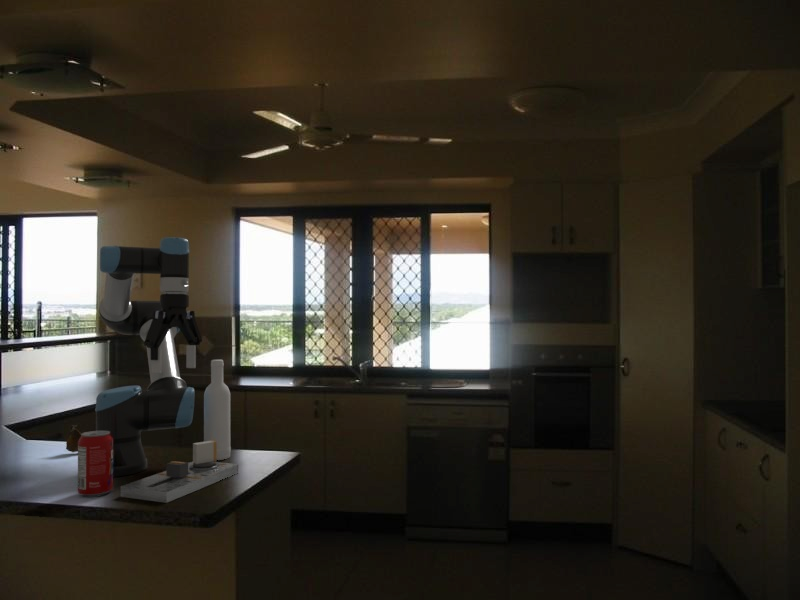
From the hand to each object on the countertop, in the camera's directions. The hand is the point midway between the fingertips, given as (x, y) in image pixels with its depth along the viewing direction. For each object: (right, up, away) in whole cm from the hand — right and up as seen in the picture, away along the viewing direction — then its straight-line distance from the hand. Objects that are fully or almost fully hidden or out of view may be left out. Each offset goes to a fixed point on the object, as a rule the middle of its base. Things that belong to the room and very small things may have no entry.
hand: (174, 370), depth 170 cm
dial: (+9, -26, -2) cm, 27 cm away
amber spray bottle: (-42, -30, +25) cm, 57 cm away
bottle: (+6, -29, +19) cm, 35 cm away
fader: (+5, -29, -12) cm, 31 cm away
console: (+6, -29, -10) cm, 31 cm away
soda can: (-13, -29, -18) cm, 36 cm away
